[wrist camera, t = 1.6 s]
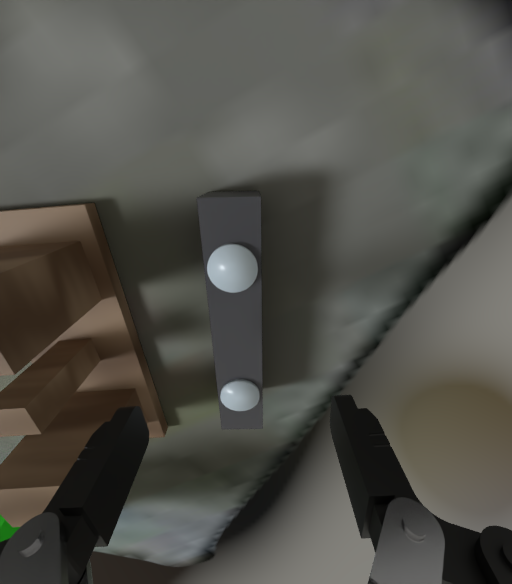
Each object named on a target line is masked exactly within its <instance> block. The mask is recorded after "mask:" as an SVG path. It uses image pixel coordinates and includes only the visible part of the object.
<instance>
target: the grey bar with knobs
mask: <svg viewBox="0 0 512 584" xmlns="http://www.w3.org/2000/svg"><path fill="white" fill-rule="evenodd" d="M197 206H198V215H199V224H200V233H201V242H202V252H203V261H204V270H205V279H206V289H207V298H208V307H209V316H210V325H211V335H212V344H213V353H214V362H215V372H216V381H217V390H218V399H219V409H220V418H221V427H222V429H261V428H263V403H262V279H261V196H260V193H259V191H227V192H207V193H205V194H203V195H201V196H199V197H197Z"/></svg>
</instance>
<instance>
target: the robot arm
mask: <svg viewBox="0 0 512 584" xmlns="http://www.w3.org/2000/svg"><path fill="white" fill-rule="evenodd" d="M330 428H331V434H332V438H333V442H334V445H335V449H336V452H337V455H338V459H339V463H340V466H341V470H342V473H343V477H344V480H345V483H346V487H347V490H348V494H349V497H350V501H351V504H352V508H353V511H354V515H355V518H356V522H357V525H358V528H359V532H360V536H361V538H371V540H372V543H373V546H374V550H375V557H374V562H373V565H372V569H371V573H370V577H369V581H368V584H512V531H511V530H509V529H507V528H503V527H500V526H489V527H486V528H485V529H484V530H483V531H482V533H479V532H475V531H473V530H470V529H466V528H463V527H460V526H457V525H454V524H451V523H448V522H446V521H444V520H442V519H440V518H438V517H437V516H435V515H434V514H432V513H431V512H430V511H429V510H428V509H427V508H426V507H424V506H423V504H422V503H421V502H420V501H419V500H418V498H417V497H416V495H415V494H414V492H413V490H412V488H411V486H410V484H409V482H408V479H407V478H406V476H405V473H404V471H403V469H402V468H401V465H400V463H399V461H398V459H397V457H396V455H395V453H394V451H393V449H392V447H390V443H389V441H388V439H387V437H386V436H385V434H384V431H383V429H382V427H381V425H380V423H379V421H378V419H377V418H376V417H375V416H374V415H373V414H372V413H371V412H370V411H369V410H368V409H367V408H363V409H358V408H357V406H356V404H355V402H354V400H353V397H352V396H351V395H337V396H332V398H331V413H330ZM148 442H149V429H148V426H147V424H146V421H145V418H144V415H143V413H142V410H141V408H140V407H139V406H128V407H119V408H118V409H117V410H116V412H115V413H114V415H113V417H112V419H111V420H110V421H108V422H104V423H103V424H102V425H101V426H100V427H99V428H98V429H97V430H96V431H95V432H94V433H93V434H92V436H91V437H90V439H89V440H88V442H87V444H86V445H85V447H84V450H82V451H81V453H80V455H79V456H78V458H77V461H75V463H74V464H73V466H72V467H71V469H70V471H69V472H68V474H67V475H66V477H65V478H64V480H63V482H62V483H61V485H60V486H59V488H58V490H57V491H56V493H55V494H54V496H53V498H52V499H51V501H50V502H49V504H48V505H47V507H46V508H45V510H44V511H43V512H42V514H39V515H37V516H35V517H33V518H31V519H30V520H29V521H27V522H26V523H25V524H23V525H22V526H21V527H20V528H19V529H18V530H17V531H16V532H15V533H14V534H13V535H12V537H11V538H9V539H7V540H4V541H2V542H0V584H93V580H92V572H91V564H90V560H89V559H90V556H91V554H92V552H93V550H94V547H104V546H108V544H109V541H110V539H111V536H112V534H113V531H114V529H115V526H116V524H117V521H118V519H119V516H120V514H121V511H122V509H123V506H124V504H125V501H126V499H127V496H128V494H129V491H130V489H131V486H132V484H133V481H134V479H135V476H136V474H137V471H138V469H139V466H140V464H141V461H142V459H143V456H144V454H145V451H146V449H147V446H148Z"/></svg>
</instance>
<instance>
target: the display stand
mask: <svg viewBox="0 0 512 584" xmlns="http://www.w3.org/2000/svg"><path fill="white" fill-rule="evenodd" d="M30 361H31V362H32V365H31V366H30V367H28V368H27V369H26V370H25V371H24V372H23V373H22V374H20V375H19V376H18V377H17V378H16V379H15V380H14V381H12V382H11V383H10V384H9V385H8V386H7V387H6V388H4V389H3V390H2V391H1V392H0V437H4V436H20V435H26V436H25V437H24V438H23V439H22V440H21V442H20V443H19V444H18V445H17V446H16V447H15V449H14V450H13V451H12V452H11V453H10V454H9V456H8V457H7V458H6V459H5V460H4V461H3V463H2V464H1V465H0V515H1V516H2V517H3V518H4V519H5V520H6V521H7V522H8V523H9V524H10V525H11V526H12V527H21V526H22V525H23V524H25V523H26V522H27V521H29V520H30V519H31V518H33V517H35V516H37V515H39V514H42V512H43V511H44V510H45V508H46V507H47V505H48V504H49V502H50V501H51V499H52V498H53V496H54V494H55V493H56V491H57V490H58V488H59V486H60V485H61V483H62V482H63V480H64V478H65V477H66V475H67V474H68V472H69V471H70V469H71V467H72V466H73V464H74V463H75V461H77V458H78V456H79V455H80V453H81V451H82V450H84V447H85V445H86V444H87V442H88V440H89V439H90V437H91V436H92V434H93V433H94V432H95V431H96V430H97V429H98V428H99V427H100V426H101V425H102V424H103V423H104V422H108V421H110V420H111V419H112V417H113V415H114V413H115V412H116V410H117V409H118V408H119V407H128V406H139V407H140V408H141V410H142V413H143V415H144V418H145V421H146V424H147V426H148V429H149V438H158V437H165V434H166V431H167V428H168V426H167V423H166V420H165V417H164V414H163V411H162V408H161V405H160V401H159V398H158V395H157V392H156V389H155V386H154V383H153V380H152V377H151V374H150V371H149V368H148V365H147V362H146V359H145V356H144V353H143V350H142V347H141V344H140V341H139V338H138V334H137V331H136V328H135V325H134V322H133V319H132V316H131V313H130V310H129V307H128V304H127V301H126V298H125V295H124V292H123V289H122V286H121V283H120V280H119V277H118V274H117V270H116V267H115V264H114V261H113V258H112V255H111V252H110V249H109V246H108V243H107V240H106V237H105V234H104V231H103V228H102V225H101V222H100V219H99V216H98V213H97V210H96V206H95V203H86V204H74V205H62V206H50V207H38V208H26V209H14V210H2V211H0V376H3V375H15V374H16V373H17V372H18V371H20V370H21V369H22V368H23V367H24V366H25V365H27V364H28V363H29V362H30Z"/></svg>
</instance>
